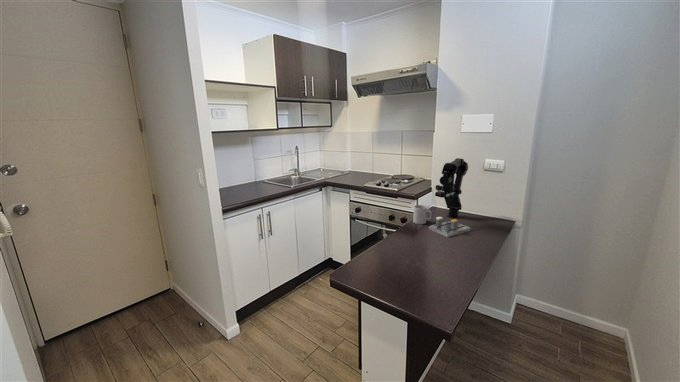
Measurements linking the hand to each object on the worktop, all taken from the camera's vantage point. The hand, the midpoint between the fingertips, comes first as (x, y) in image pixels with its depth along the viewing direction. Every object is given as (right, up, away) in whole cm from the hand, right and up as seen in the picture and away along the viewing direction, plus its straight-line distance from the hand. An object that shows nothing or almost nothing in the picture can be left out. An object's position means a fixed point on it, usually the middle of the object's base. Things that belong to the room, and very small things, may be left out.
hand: (447, 205), depth 185 cm
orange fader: (-1, -14, -13) cm, 19 cm away
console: (-2, -15, -9) cm, 18 cm away
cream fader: (-9, -13, -8) cm, 17 cm away
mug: (-15, -12, +5) cm, 20 cm away
